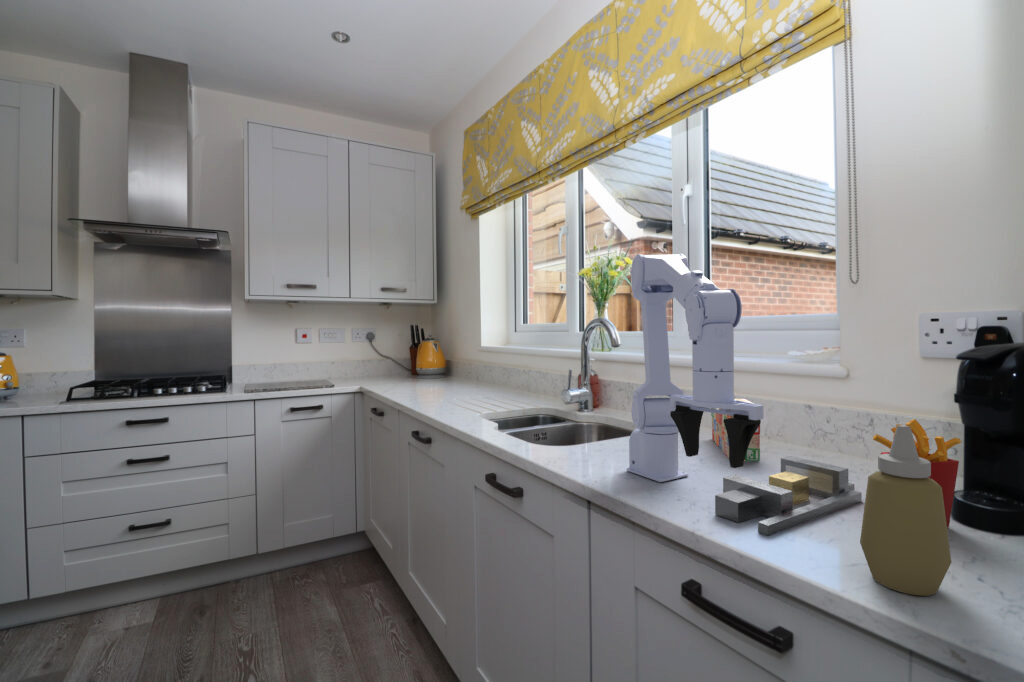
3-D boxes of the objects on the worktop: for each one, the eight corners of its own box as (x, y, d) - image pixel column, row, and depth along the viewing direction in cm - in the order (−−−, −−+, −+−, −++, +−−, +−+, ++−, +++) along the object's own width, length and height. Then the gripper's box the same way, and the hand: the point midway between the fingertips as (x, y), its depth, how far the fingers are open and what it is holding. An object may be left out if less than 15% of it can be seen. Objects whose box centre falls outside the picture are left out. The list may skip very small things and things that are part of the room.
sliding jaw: (699, 508, 79) (699, 483, 79) (734, 497, 83) (734, 474, 83) (756, 529, 70) (756, 502, 70) (793, 516, 75) (793, 491, 74)
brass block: (768, 499, 83) (768, 476, 83) (785, 493, 86) (785, 471, 85) (792, 506, 80) (792, 482, 79) (809, 500, 82) (809, 477, 82)
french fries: (961, 529, 69) (962, 425, 69) (912, 534, 68) (912, 428, 68) (903, 507, 78) (903, 414, 78) (858, 511, 77) (858, 417, 76)
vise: (697, 509, 78) (697, 478, 78) (796, 480, 92) (796, 454, 92) (768, 536, 68) (767, 500, 68) (867, 498, 82) (867, 469, 82)
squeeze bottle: (842, 568, 59) (842, 421, 58) (904, 564, 59) (904, 419, 59) (902, 605, 51) (902, 435, 50) (972, 601, 51) (973, 432, 51)
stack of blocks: (711, 439, 128) (711, 393, 127) (736, 440, 126) (736, 393, 126) (730, 461, 107) (729, 405, 107) (760, 462, 106) (760, 406, 105)
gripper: (775, 372, 68) (776, 467, 68) (689, 366, 81) (690, 447, 81) (746, 375, 64) (746, 476, 65) (660, 368, 77) (661, 453, 77)
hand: (713, 460), depth 73 cm, fingers open, 7 cm apart
